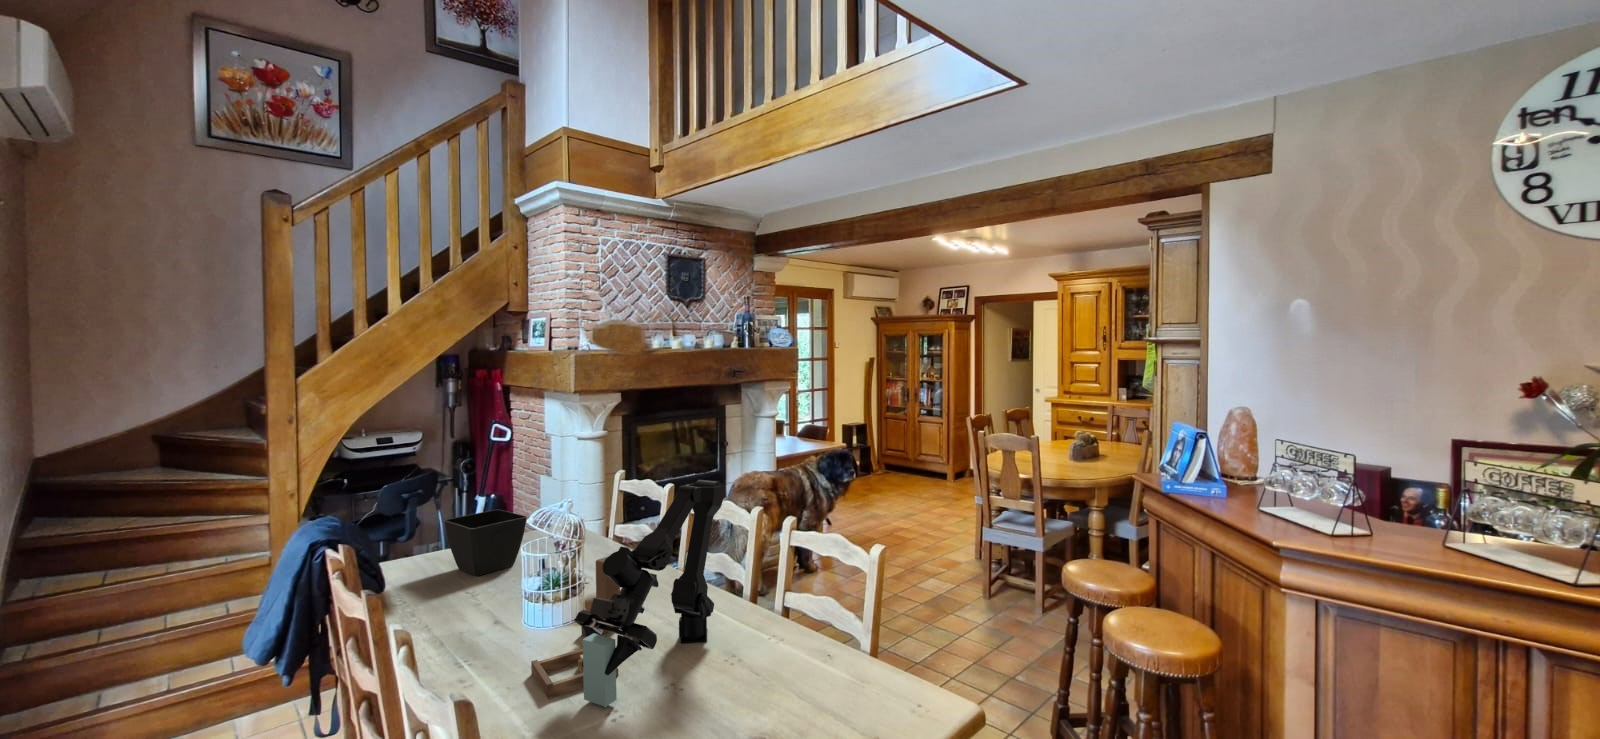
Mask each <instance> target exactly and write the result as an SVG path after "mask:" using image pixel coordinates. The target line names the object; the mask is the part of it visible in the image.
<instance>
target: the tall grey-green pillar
mask: <svg viewBox="0 0 1600 739" xmlns="http://www.w3.org/2000/svg"><path fill="white" fill-rule="evenodd" d="M582 648H583V680H584V687H583V700H585V701H588V702H591V703H594V704H596V705H598V706H602V707H604V708H606V707H608V706H609V705H611V704H612V703H614V702H616V701H617V697H618V696H617V676H616V669H615V670H614V671H613V672H612V673H610V674H609V675H606V674H605V670H606V667H607V665H608V663H609V661H610V658H611V656H612V654H613V652H614V650H615V648H616V639H615V638H612V637H609V636H605V635H603V634H602V635H598V634H595V633H593V634H591V635H590V636H588V637H586V636H585V637H584V638H583V639H582Z"/></svg>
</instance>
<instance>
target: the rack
mask: <svg viewBox="0 0 1600 739" xmlns="http://www.w3.org/2000/svg"><path fill="white" fill-rule="evenodd" d="M580 655H583V647H582V648H579V649H576V650H575V649H574V650H573V651H569V652H566V653H563V654H559V655H556V656H552V657H549V658H545V659H542V660H538V659H535V660H534V659H533V660H531V661H530V663H531V664H530V665H531V666H530V668H531V669H530V670H531V676H532V677H534V678H533V679H534V680H536V681H535V682H536V684H537V685H538V687H539V689H540V688H541V689H540V690H541V691H543V692H542V693H543V695H544V694H545V695H544V696H545V698H546V697H547V698H546V700H549V699H551V698H550V697H552V698H555V697H558V696H561V695H564V694H567V693H570V692H572V691H575V690H578V689H582V688H584V680H583V673H581V672H580V673H578V674H575V675H572V676H568V677H566V678H563V679H559V680H556V681H554V682H553V681H552V679H551V678H550V677H549V674H548V673H549V672H550V673H551V672H553V671H557V670H559V669H562V668H566V667H569V666H572V665H576V664H578V660H580ZM618 676H619V667H617V668H616V677H618ZM548 698H549V699H548Z"/></svg>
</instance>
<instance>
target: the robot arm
mask: <svg viewBox="0 0 1600 739" xmlns="http://www.w3.org/2000/svg"><path fill="white" fill-rule="evenodd" d="M725 496H726V489H725V487H724V486H723V484H722V482H720V481H717V480H716V481H715V480H706V479H705V480H704V479H697V480H696V481H695V482H694V483H690V484H689V483H688V484H685V485H680V486H679V487H678V489H677V490H676V496H675V497H674V499H673V500H672V502H671V504H670V505H669V507H668V508H667V510H666V512H665V513H664V515H663V516H662V518H661V520H660V521H659V523H658V524H657V526H656V528H655V529H654V530H653V531H652V532H649V533H648V534H647V535H645V536H644V537H643V538H642V539H641V541H639V543H638V544H637V546H636V547H635V548H634V549H632V550H631V549H630V548H629V547H627V546H622V545H621V546H620V547H619V549H618V550H616V551H614V552H612V553H611V554H610V555H608V556H609V557H608V556H607V557H608V558H606V559H605V561H604V563H603V572H604V573H605V574H606V575H607V576H608V577H609V578H610V579H611V580H612V581H613V582H614V583H616V584H617V585H618V586H619V587H620V592H619V594H618V595H617V594H614V595H613V596H612V597H611V599H610V600H608V599H601V598H596V597H593V598H592V601H591V606H590V608H589V610H585V609H582V610H580V611H579V612H577V614H576V615H575V616H576V617H575V619H574V620H573V622H575V623H576V624H578V625H579V626H580V627H581V626H582V629H584V630H585V634H586V636H585V638H586V637H588V636H590V635H591V634H593V633H595V634H598V635H602V636H603V634H602V633H603V631H608V632H607V633H611V634H612V633H613V634H615V635H617V637H616V645H615V647H616V648H615V650H614V652H613V654H612V656H611V658H610V661H609V663H608V665H607V667H606V670H605V674H606V675H609V674H610V673H612V672H613V671H614V670H615V669H616V668H619V667H620V666H621V665H622V664H623V663H624V662H625V661H626V660H627V659H629V658H630V657H631V656H633V655H634V654H635V653H636V652H638V651H642V650H643V648H646V649H648V650H649V649H650V650H654V648H655V647H656V644H657V642H658V636H657V634H656V633H655V632H654V631H653V630H652V629H651V628H649V627H648V626H646V625H643V624H639V623H636V622H635V621H636V620H637V617H638V615H639V614H643V613H644V611H645V610H646V609H645V608H644V607H643V605H644V603H645V601H646V599H647V597H648V594H649V593H650V590H651V589H652V588H653V587H654V588H658V587H659V581H658V578H657V577H658V575H657V574H655V573H652V572H649V571H648V570H652V571H657V572H660V571H664V570H665V569H666V568H667V566H668V564H669V562H670V560H671V557H672V555H673V554H674V541H675V540H676V537H677V535H678V533H679V532H680V530H681V528H682V527H683V524H684V523H685V522H686V519H687V518H688V517H689V515H690V513H691V511H692V512H693V519H692V520H693V521H692V524H691V529H690V530H691V531H690V534H689V535H690V536H689V541H688V548H687V554H686V558H685V565H684V570H683V573H682V574H681V575H680V576H679V578H675V579H674V581H673V583H672V584H673V586H672V590H671V593H670V596H671V604H672V605H673V606H672V607H673V611H674V613H675V614H679V615H680V617H679V619H678V637H679V638H680V643H681V644H686V643H687V644H688V643H701V642H703V643H705V642H707V641H708V617H709V618H710V617H711V616H712V614H713V612H714V607H715V602H714V601H713V600H712V599H711V598H710V597H709V596H708V590H709V589H708V587H709V586H708V584H707V580H706V577H705V574H704V572H705V568H706V562H707V556H708V550H709V549H708V548H709V545H710V538H711V533H712V526H713V522H714V517H715V515H716V514H717V513H718V512H719V510H720V509H721V508H722V505H723V501H724V497H725ZM598 615H599V616H598ZM601 617H602V618H604V619H606V620H604V619H602V618H601ZM611 627H613V628H611ZM642 647H643V648H642ZM582 667H583V660H582Z"/></svg>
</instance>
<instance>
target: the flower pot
mask: <svg viewBox="0 0 1600 739" xmlns="http://www.w3.org/2000/svg"><path fill="white" fill-rule="evenodd" d="M527 518H528V517H527V516H526V515H522V514H519V513H515V512H513V511H512V512H511V511H508V510H507V511H506V510H502V509H493V510H492V509H491V510H487V511H482V512H477V513H471V514H468V515H467V514H466V515H462V516H457V517H452V518H451V517H450V518H447V519H444V520H443V523H444V527H445V528H444V529H445V533H446V538H447V541H448V545H449V548H450V550H451V554H452V557H453V559H454V561H455V564H456V566H457V568H458V570H461V571H463V572H465V573H468V574H471V575H473V576H476V577H477V576H482V575H486V574H490V573H494V572H497V571H499V570H500V571H501V570H503V569H506V568H511V567H513V566H514V565H515V563H516V560H517V558H518V555H519V552H520V549H521V545H522V542H523V538H524V535H525V531H526V523H527Z"/></svg>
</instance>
